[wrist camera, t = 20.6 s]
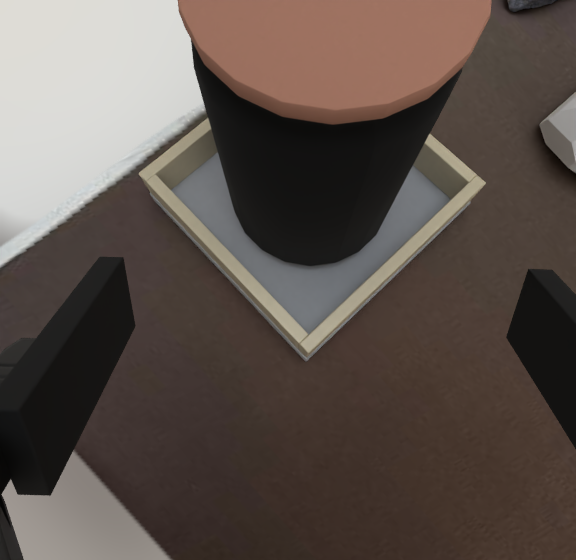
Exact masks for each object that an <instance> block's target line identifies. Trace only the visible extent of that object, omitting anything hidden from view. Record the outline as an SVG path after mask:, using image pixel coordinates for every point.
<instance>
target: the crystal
mask: <svg viewBox="0 0 576 560" xmlns="http://www.w3.org/2000/svg"><path fill="white" fill-rule="evenodd" d="M539 125H540V128H541V132H542V135H543V138H544V141H545V144H546V145H547V146H548V147H549V148H550V149H551V150H552V151H553V152H554V153H555V154H556V155H557V156H558V158H559V159H560V160H561V161H562V162H563V163H564V164H565V165H566V166H567V167H568V168H569V169H571V170H572V171H573V172H575V173H576V92H575V93H574V94H573V95H571V96H570V97H569V98H568V99H567V100H566V101H565V102H563V103H562V104H561V105H560V106H559V107H558V108H557V109H556V110H554V111H553V112H552V113H551V114H550V115H549V116H548V117H547V118H545V119H544V120H543V121H542V122H541V123H540V124H539Z"/></svg>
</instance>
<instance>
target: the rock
mask: <svg viewBox="0 0 576 560" xmlns="http://www.w3.org/2000/svg"><path fill="white" fill-rule="evenodd" d="M507 1H508V4H509V9H510V10H511V11H513V12H516V11H519V10H521V9H524V8H525V9H528V8H535V7H541V6H543V5H546V4H552V2H554V1H556V0H507Z"/></svg>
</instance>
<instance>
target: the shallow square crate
mask: <svg viewBox="0 0 576 560" xmlns="http://www.w3.org/2000/svg"><path fill="white" fill-rule="evenodd" d="M139 176H140V177H141V179H142V180H143V182H144V183H145V185H146V186H147V188H148V189H149V191H150V192H151V193H150V195H151V197H152V198H153V200H154V201H155V202H156V203H157V204H158V205H159V206H160V207H161V208H162V210H163V211H164V212H165V213H166V214H167V215H168V216H169V217H170V218H171V219H172V220H173V221H174V222H175V223H176V224H177V226H178V227H179V228H180V229H181V230H182V231H183V232H184V233H185V234H186V235H187V236H188V237H189V238H190V239H191V240H192V241H193V243H194V244H195V245H196V246H197V247H198V248H199V249H200V250H201V251H202V252H203V253H204V254H205V255H206V256H207V257H208V258H209V260H210V261H211V262H212V263H213V264H214V265H215V266H216V267H217V268H218V269H219V270H220V271H221V272H222V273H223V274H224V276H225V277H226V278H227V279H228V280H229V281H230V282H231V283H232V284H233V285H234V286H235V287H236V288H237V289H238V290H239V291H240V293H241V294H242V295H243V296H244V297H245V298H246V299H247V300H248V301H249V302H250V303H251V304H252V305H253V306H254V307H255V308H256V310H257V311H258V312H259V313H260V314H261V315H262V316H263V317H264V318H265V319H266V320H267V321H268V322H269V323H270V324H271V325H272V327H273V328H274V329H275V330H276V331H277V332H278V333H279V334H280V335H281V336H282V337H283V338H284V339H285V340H286V341H287V343H288V344H289V345H290V346H291V347H292V348H293V349H294V350H295V351H296V352H297V353H298V354H299V355H300V356H301V357H302V358H303V360H304V361H307V360H308V359H309V358H311V357H312V356H313V355H314V354H315V353H316V352H317V351H318V350H319V349H320V348H321V347H322V346H323V345H324V344H325V343H326V342H327V341H328V340H329V339H330V338H331V337H332V336H333V335H334V334H335V333H337V332H338V331H339V330H340V329H341V328H342V327H343V326H344V325H345V324H346V323H347V322H348V321H349V320H350V319H351V318H352V317H353V316H354V315H355V314H356V313H357V312H358V311H359V310H360V309H361V308H363V307H364V306H365V305H366V304H367V303H368V302H369V301H370V300H371V299H372V298H373V297H374V296H375V295H376V294H377V293H378V292H379V291H380V290H381V289H382V288H383V287H384V286H385V285H386V284H387V283H389V282H390V281H391V280H392V279H393V278H394V277H395V276H396V275H397V274H398V273H399V272H400V271H401V270H402V269H403V268H404V267H405V266H406V265H407V264H408V263H409V262H410V261H411V260H412V259H413V258H415V257H416V256H417V255H418V254H419V253H420V252H421V251H422V250H423V249H424V248H425V247H426V246H427V245H428V244H429V243H430V242H431V241H432V240H433V239H434V238H435V237H436V236H437V235H438V234H439V233H441V232H442V231H443V230H444V229H445V228H446V227H447V226H448V225H449V224H450V223H451V222H452V221H453V220H454V219H455V218H456V217H457V216H458V215H459V214H460V213H461V212H462V211H463V210H464V209H465V208H466V207H467V206H468V205H469V204H470V201H471V200H472V198H473V197H474V196H475V195H476V194H477V193H478V192H479V191H480V190H481V188H482V187H483V186H484V185H485V182H484V181H483V180H482V179H481V178H480V177H479V176H476V174H475V173H474V172H473V171H472V170H471V169H470V168H468V167H467V166H466V165H465V164H464V163H463V162H462V161H460V160H459V159H458V158H457V157H456V156H455V155H454V154H452V153H451V152H450V151H449V150H448V149H447V148H446V147H444V146H443V145H442V144H441V143H440V142H439V141H438V140H436V139H435V138H434V137H433V136H432V135H431V134H429V136H428V138H427V139H426V141H425V143H424V145H423V147H422V149H421V151H420V153H419V155H418V157H417V158H416V160H415V162H414V164H413V166H412V168H411V170H410V172H409V174H408V176H407V177H406V179H405V181H404V183H403V185H402V187H401V189H400V191H399V193H398V195H397V196H396V198H395V200H394V202H393V204H392V206H391V208H390V210H389V212H388V214H387V215H386V217H385V219H384V221H383V223H382V225H381V227H380V229H379V231H378V233H377V234H376V236H375V237H374V238H373V239H372V240H371V241H370V242H368V243H367V244H366V245H365V246H364V247H363V248H362V249H361V250H360V251H359V252H357V253H355V254H353V255H351V256H349V257H347V258H345V259H343V260H340V261H338V262H336V263H330V264H323V265H315V266H306V265H300V264H295V263H289V262H284V261H282V260H280V259H278V258H276V257H274V256H272V255H270V254H268V253H267V252H265V251H263V250H261V249H260V248H259V247H258V246H257V245H256V244H255V243H254V242H253V241H252V240H251V239H250V238H249V237H248V236H247V235H246V234H245V232H244V230H243V228H242V226H241V224H240V222H239V220H238V218H237V216H236V214H235V212H234V208H233V205H232V201H231V198H230V194H229V190H228V187H227V183H226V180H225V176H224V173H223V169H222V165H221V162H220V158H219V155H218V151H217V148H216V144H215V140H214V137H213V133H212V130H211V126H210V123H209V119H208V118H207V119H206V120H205V121H203V122H202V123H201V124H200V125H198V126H197V127H196V128H195V129H193V130H192V131H191V132H190V133H188V134H187V135H186V136H185V137H183V138H182V139H181V140H180V141H178V142H177V143H176V144H175V145H173V146H172V147H171V148H170V149H168V150H167V151H166V152H165V153H163V154H162V155H161V156H160V157H158V158H157V159H156V160H155V161H153V162H152V163H151V164H150V165H148V166H147V167H146V168H145V169H143V170H142V171H141V172H140V173H139Z"/></svg>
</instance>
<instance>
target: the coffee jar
mask: <svg viewBox="0 0 576 560" xmlns="http://www.w3.org/2000/svg"><path fill="white" fill-rule="evenodd" d="M178 6H179V13H180V15H181V18H182V21H183V23H184V26H185V28H186V30H187V32H188V34H189V36H190V38H191V42H192V52H193V61H194V69H195V72H196V76H197V80H198V83H199V87H200V90H201V94H202V97H203V101H204V105H205V108H206V112H207V115H208V119H209V123H210V126H211V130H212V133H213V137H214V140H215V144H216V148H217V151H218V155H219V158H220V162H221V165H222V169H223V173H224V176H225V180H226V183H227V187H228V190H229V194H230V198H231V201H232V205H233V208H234V212H235V214H236V216H237V218H238V220H239V222H240V224H241V226H242V228H243V230H244V232H245V234H246V235H247V236H248V237H249V238H250V239H251V240H252V241H253V242H254V243H255V244H256V245H257V246H258V247H259V248H260V249H261V250H263V251H265V252H267V253H268V254H270V255H272V256H274V257H276V258H278V259H280V260H282V261H284V262H289V263H295V264H300V265H306V266H315V265H323V264H330V263H336V262H338V261H340V260H343V259H345V258H347V257H349V256H351V255H353V254H355V253H357V252H359V251H360V250H361V249H362V248H363V247H364V246H365V245H366V244H367V243H368V242H370V241H371V240H372V239H373V238H374V237H375V236H376V234H377V233H378V231H379V229H380V227H381V225H382V223H383V221H384V219H385V217H386V215H387V214H388V212H389V210H390V208H391V206H392V204H393V202H394V200H395V198H396V196H397V195H398V193H399V191H400V189H401V187H402V185H403V183H404V181H405V179H406V177H407V176H408V174H409V172H410V170H411V168H412V166H413V164H414V162H415V160H416V158H417V157H418V155H419V153H420V151H421V149H422V147H423V145H424V143H425V141H426V139H427V138H428V136H429V134H430V132H431V130H432V128H433V126H434V124H435V122H436V120H437V119H438V117H439V115H440V113H441V111H442V109H443V107H444V105H445V103H446V101H447V99H448V97H449V96H450V94H451V92H452V90H453V88H454V86H455V84H456V82H457V80H458V78H459V76H460V74H461V72H462V67H463V65H464V64H465V62H466V61H467V59H468V58H469V56H470V55H471V53H472V51H473V49H474V47H475V45H476V43H477V41H478V39H479V37H480V35H481V33H482V31H483V29H484V28H485V26H486V24H487V22H488V20H489V18H490V12H491V0H178Z"/></svg>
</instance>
